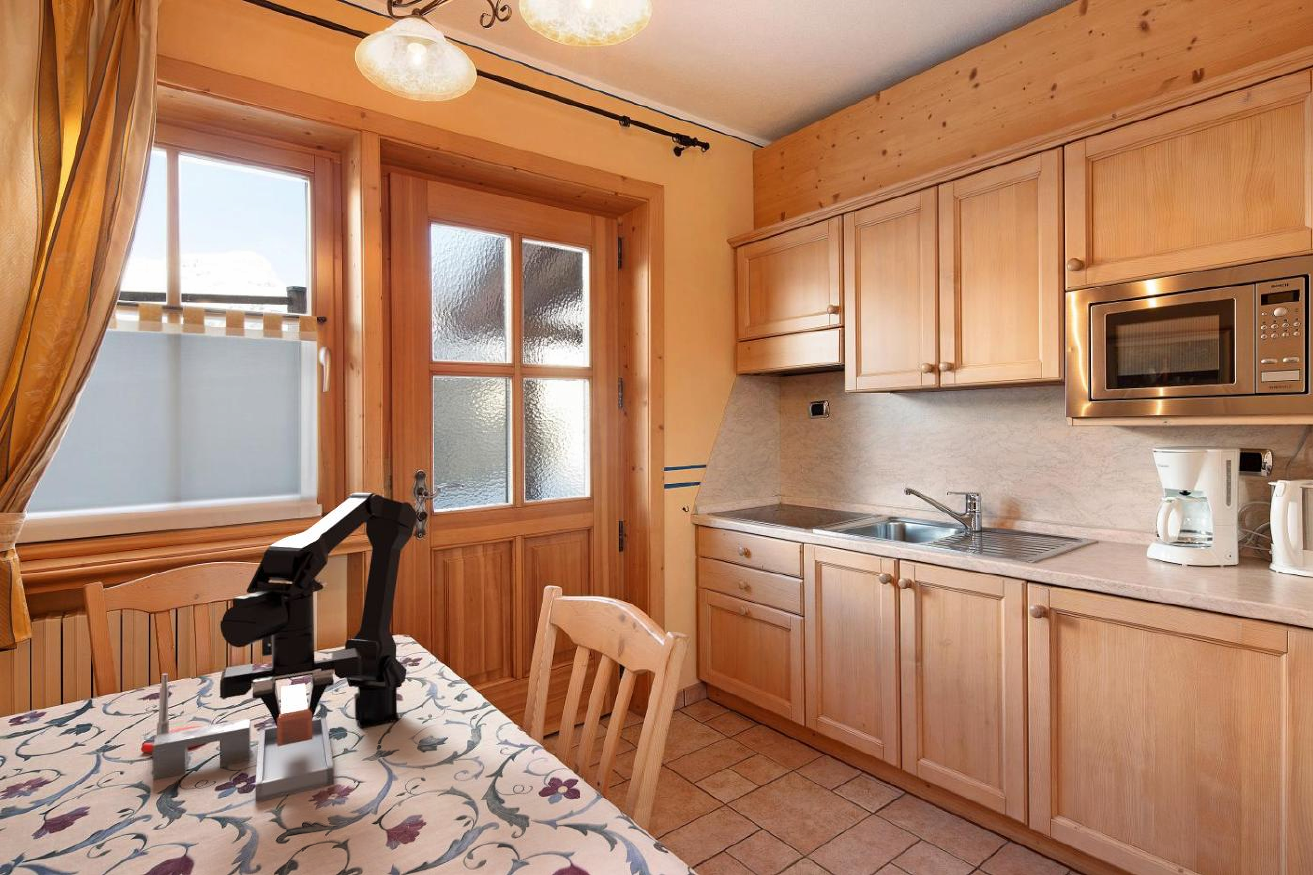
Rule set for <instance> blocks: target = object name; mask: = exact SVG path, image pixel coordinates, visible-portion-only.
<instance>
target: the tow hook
mask: <svg viewBox="0 0 1313 875" xmlns="http://www.w3.org/2000/svg"><path fill="white" fill-rule="evenodd" d="M158 699H159V703H158V704H159V706H158V722H157V724H156V736H157V735H159V734H165V733H170V732H176V731H181V730H187V729H192V728H198V727H203V725H202V726H201V725H199V726H198V725H197V726H196V725H195V726H187V727H182V728H177V729H174V730H170V720H169V719H168V718H169V685H168V673H162V674H161V686H160V687H159V698H158ZM155 738H156V737H155ZM155 738H153V739H152V742H144V743H143V744H142V745H141V748H140V751H141V752H142V753H149V754H153V743H154V741H155ZM201 745H202V744H200V745H195V746H189V747H188V750H189V749H192V748H196V747H198V746H201Z"/></svg>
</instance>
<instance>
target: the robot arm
mask: <svg viewBox="0 0 1313 875" xmlns="http://www.w3.org/2000/svg"><path fill="white" fill-rule="evenodd" d="M416 522H417V512H416V509H414V507H413V506H412V504H411V503H410V502H408V501H397V500H394V499H390V498H386V497H384V496H381V495H380V494H377V493H376V492H375V493H374V492H354V493H351V494H349V495H348V496H347V498H346V500H345V501H344V502H343V503H341V504H340V505H338V507H336V508H334V510H332V511H330V513H328V514H327V515H325V516H324V517H323V518H322V519H320V520H319V521H317V523H315V524H314V525H313V526H312V527H310V528H308V529H307V530H305V531H304V532H301V533H298V534H295V535H290V536H287V537H285V538H283V539H281V540H279V541H277V542H275V543H273V544H271V545H269V547H268V548H267V549H266V550H265V551H264V552H263V556H262V559H261V561H260V563H259V565H258V567H257V569H256V571H255V573H254V575H253V577H252V579H251V581H250V583H249V585H248V586H247V589H246V593H247V594H246V595H239V596H235V597H233V598H232V606H231V607H229V608H228V609H227V610H226V611H225V612H224V614H223V616H222V619H221V621H220V625H219V626H220V632H221V635H222V637H223V639H224V640H225V641H226V643H228V644H229V645H230V646H232V647H234V648H244V647H247V646H249V645H252V644H255V643H256V642H259V641H261V656H262V657H267V656H268V657H270V656H271V667H270V668H269V667H268V668H264V669H256V670H254V664H253V663H247V664H241V665H235V666H228V667H226V668H225V669H224V670H223V671H222V673H221V676H220V680H219V681H220V682H219V698H221V699H228V698H234V697H240V696H246V695H247V694H248V693H249V692H250V691H251V689H252V699H261V701H262V702H263V704H264V706H266V708H267V711H269V713H270V715H271V717H272V719H273V722H274V724H275V726H277V714H281V707H280V706H281V704H280V701H279V694H278V687H277V681H281V680H287V679H294V678H300V677H306V676H310V685H309V693H308V694H309V695H308V701H307V709H309V708H312V719H314V715H315V713H316V710H317V708H318V705H319V702H320V701H321V698H322V696H323V695H324V692H325V691H326V689H327V687H330V686H333V685H334V684H335V680H334V676H333V675H335V676H336V677H338V678H339V679H346V681H347V684H348V687H350V688H352V687H353V688H354V687H355V688H357V692H356V693H354V696H353V698H354V700H353V701H354V703H353V704H354V718H355V721H356V722H358V726H359V728H366V727H372V726H375V725H381V724H387V723H391V722H396V721H399V719H400V718H399V714H398V701H397V698H398V696H397V692H398V691H397V689H398V688H400V687H402V685H403V683H405V681H406V676H407V673H408V672H407V671H408V670H407V668H406V667H405V666H404V665H403V664H402V663H401V662H400V660H398V659H397V643H396V641H395V640H394V637H393V634H392V632H391V623H392V617H393V616H392V615H393V608H394V603H395V602H394V601H395V593H396V587H397V581H398V580H397V579H398V572H399V565H400V559H401V552H402V550H403V548H404V547H405V546H406V544H407V543H408V542H409V541H410V539H411V538H412V537H413V532H414V528H415V524H416ZM364 524H365V534H366V537H367V539H368V541H369V544H370V546H371V557H370V562H369V570H368V577H367V581H366V589H365V595H364V596H365V597H364V600H363V601H364V602H363V609H362V615H361V622H360V626H359V630H358V631H357V633H356V634H355V636H353V638H348V639H347V640H346V642H345V643H344V649H342V650H341V649H340V650H332V652H331V658H326V659H321V660H315V615H314V614H315V612H314V607H315V606H314V593H315V592H318V591H322V590H323V589H324V585H323V584H322V583H321V582H319V581H317V580H316V579H315V578H317V577H318V575H319V573H320V572H322V570H323V569H324V568H325V567H326V565H327V564H328V560H329V554H330V553H331V552H332V550H334V549H335V548H337V547H338V546H339V545H340V544H341V543H342V542H343V541H345V539H347V538H348V537H349V536H350V535H352V534H353V533H354V532H355V531H356V530H357V529H359V528H361V526H362V525H364Z"/></svg>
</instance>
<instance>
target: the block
mask: <svg viewBox="0 0 1313 875" xmlns="http://www.w3.org/2000/svg"><path fill="white" fill-rule="evenodd" d="M202 726H203V725H202ZM169 732H170V731H169ZM251 737H252V736H251V717H248V718H247V717H246V718H242V719H238V720H237V719H236V720H232V721H226V722H221V723H215V724H209V725H204V726H203V727H198V728H192V729H187V730H181V731H176V732H170V733H165V734H159V735H157V734H156V736H155V741H154V743H153V753H152V779H153V781H154V780H159V779H164V778H167V777H174V776H178V775H183V774H186V772H187V769H188V765H189V749H188V747H189V746H195V745H199V746H201V745H205V744H209V743H215V742H219V766H226V765H231V764H236V763H237V764H238V763H241V762H246V761H250V758H251V751H252V750H251V749H252V748H251V747H252V746H251V744H252V742H251V741H252V740H251ZM200 744H201V745H200Z"/></svg>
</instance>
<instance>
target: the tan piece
mask: <svg viewBox="0 0 1313 875" xmlns="http://www.w3.org/2000/svg"><path fill="white" fill-rule="evenodd" d="M306 689H307V688H306V683H298V684H293V685H287V686H286V685H285V686H281V693H280V694H281V696H280V697H281V698H280V699H281V700H280V701H281V702H280V703H281V704H280V706H281V707H280V711H281V714H277V746H282V745H287V744H292V743H297V742H302V741H307V740H312V739H313V737H312V708H309V709H308V701H307V691H306Z"/></svg>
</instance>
